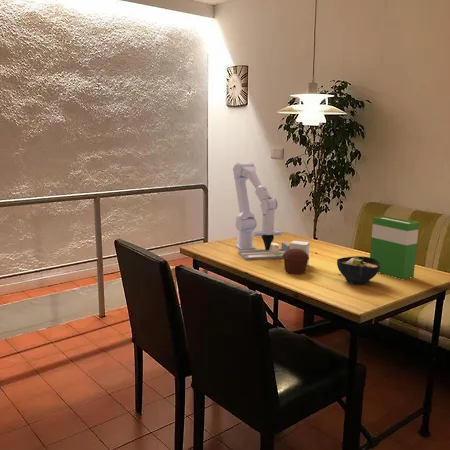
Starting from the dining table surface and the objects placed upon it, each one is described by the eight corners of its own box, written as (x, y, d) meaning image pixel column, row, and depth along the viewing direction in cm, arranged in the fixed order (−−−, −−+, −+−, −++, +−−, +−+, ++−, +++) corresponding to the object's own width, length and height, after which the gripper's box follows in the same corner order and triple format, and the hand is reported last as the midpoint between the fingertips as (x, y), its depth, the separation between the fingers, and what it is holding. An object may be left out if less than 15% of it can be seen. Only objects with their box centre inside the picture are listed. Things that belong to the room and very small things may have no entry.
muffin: (307, 268, 214) (308, 247, 212) (309, 276, 203) (310, 253, 201) (280, 267, 215) (281, 245, 213) (281, 274, 204) (282, 252, 202)
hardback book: (368, 269, 215) (373, 217, 210) (379, 267, 219) (384, 215, 214) (402, 280, 201) (408, 224, 196) (413, 277, 205) (419, 222, 200)
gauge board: (238, 253, 238) (238, 243, 237) (283, 251, 244) (284, 242, 243) (245, 259, 226) (245, 249, 225) (292, 257, 232) (293, 247, 231)
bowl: (386, 282, 197) (388, 259, 195) (364, 291, 185) (366, 266, 183) (349, 273, 209) (351, 250, 207) (327, 280, 197) (329, 257, 195)
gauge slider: (268, 250, 239) (268, 243, 238) (275, 250, 240) (275, 242, 239) (273, 254, 232) (273, 246, 231) (281, 254, 233) (281, 246, 232)
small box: (308, 264, 221) (309, 242, 219) (305, 267, 216) (306, 244, 214) (291, 262, 224) (293, 240, 222) (288, 265, 219) (289, 242, 217)
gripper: (256, 224, 228) (255, 252, 231) (285, 224, 232) (283, 251, 234) (252, 222, 235) (251, 249, 237) (279, 221, 238) (278, 247, 241)
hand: (267, 249), depth 236 cm, fingers closed
